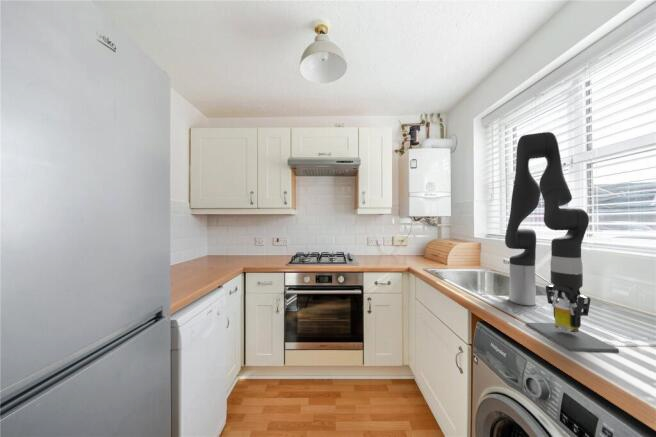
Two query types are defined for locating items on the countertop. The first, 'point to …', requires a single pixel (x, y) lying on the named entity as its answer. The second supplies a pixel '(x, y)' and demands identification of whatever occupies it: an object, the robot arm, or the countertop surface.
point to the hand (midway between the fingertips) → (566, 322)
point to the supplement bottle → (563, 317)
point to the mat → (572, 339)
